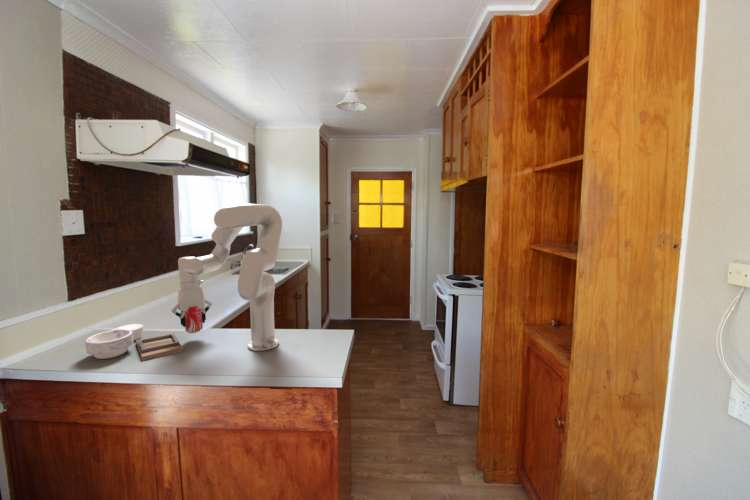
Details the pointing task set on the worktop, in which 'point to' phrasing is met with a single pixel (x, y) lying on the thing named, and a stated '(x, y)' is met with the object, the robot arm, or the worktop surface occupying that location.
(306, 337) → the worktop surface
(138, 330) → the ramekin
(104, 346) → the paper bowls
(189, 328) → the soda can
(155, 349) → the steel frame
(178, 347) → the tan board
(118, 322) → the worktop surface
